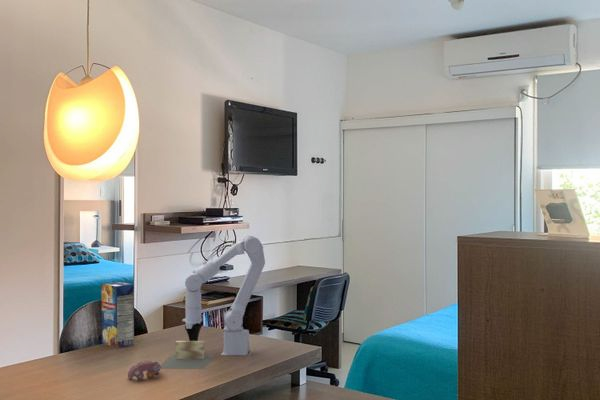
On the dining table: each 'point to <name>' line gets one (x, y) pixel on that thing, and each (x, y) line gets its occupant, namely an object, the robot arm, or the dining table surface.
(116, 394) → the dining table surface
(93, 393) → the dining table surface
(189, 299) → the robot arm
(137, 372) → the purple toy animal
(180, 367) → the mat
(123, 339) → the juice carton
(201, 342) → the slab
